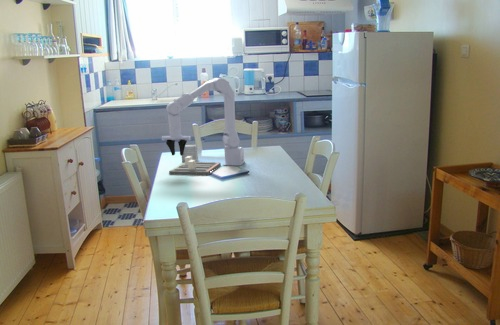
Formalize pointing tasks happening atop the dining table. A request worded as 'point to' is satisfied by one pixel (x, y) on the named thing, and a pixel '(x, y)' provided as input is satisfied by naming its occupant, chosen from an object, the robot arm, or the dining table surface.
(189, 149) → the medicine box
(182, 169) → the breaker panel
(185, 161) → the block
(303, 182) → the dining table surface
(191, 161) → the block
